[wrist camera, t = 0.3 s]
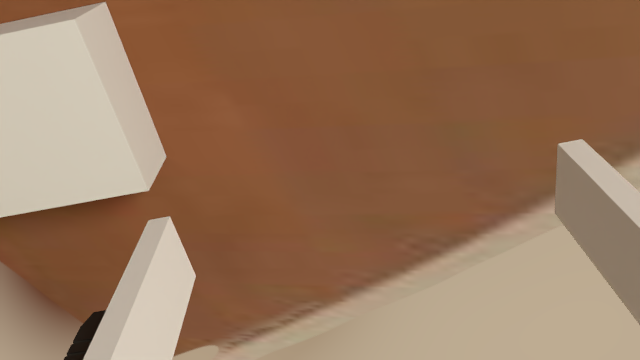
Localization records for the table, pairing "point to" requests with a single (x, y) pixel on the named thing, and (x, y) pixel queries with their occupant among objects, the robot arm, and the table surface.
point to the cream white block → (71, 114)
